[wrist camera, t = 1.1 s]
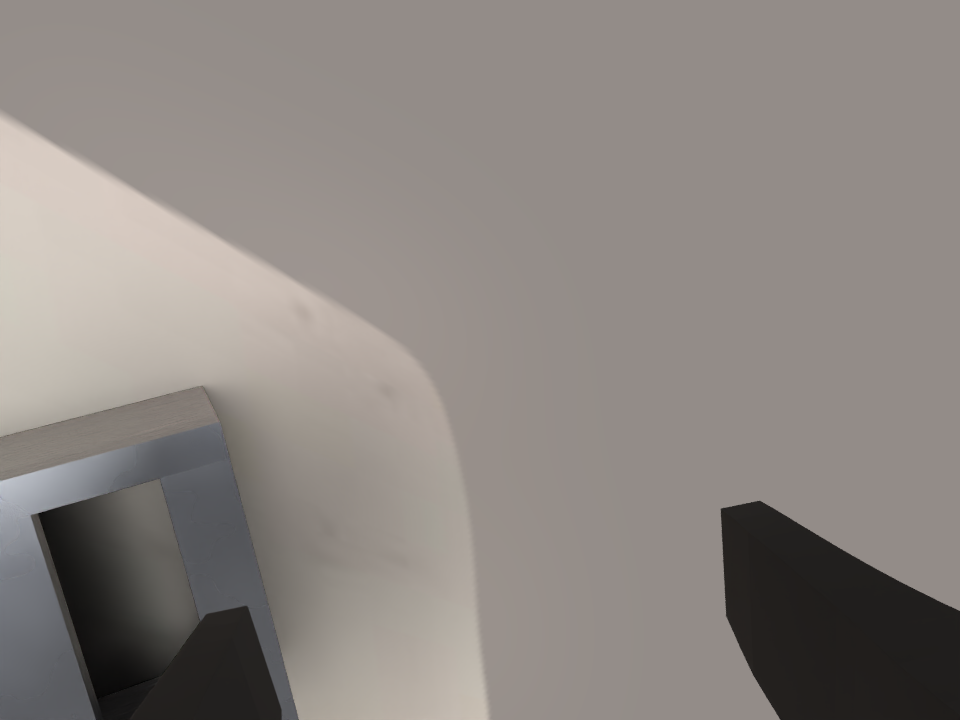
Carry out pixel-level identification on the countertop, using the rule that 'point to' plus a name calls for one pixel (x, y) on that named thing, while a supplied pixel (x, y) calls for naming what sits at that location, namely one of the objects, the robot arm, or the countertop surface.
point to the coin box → (100, 470)
